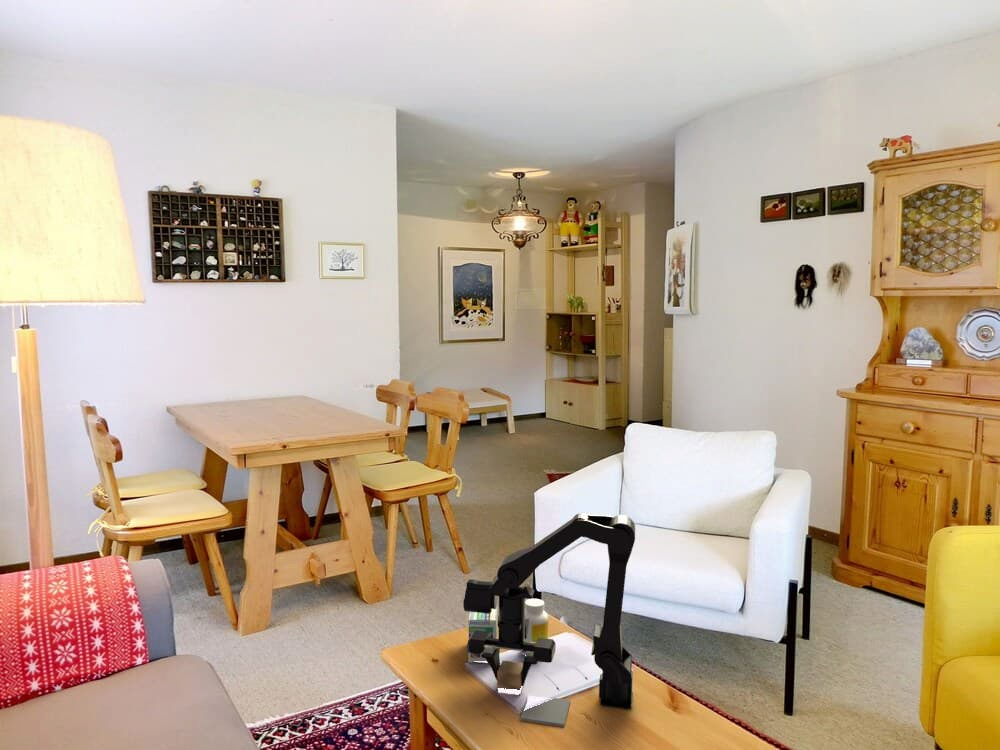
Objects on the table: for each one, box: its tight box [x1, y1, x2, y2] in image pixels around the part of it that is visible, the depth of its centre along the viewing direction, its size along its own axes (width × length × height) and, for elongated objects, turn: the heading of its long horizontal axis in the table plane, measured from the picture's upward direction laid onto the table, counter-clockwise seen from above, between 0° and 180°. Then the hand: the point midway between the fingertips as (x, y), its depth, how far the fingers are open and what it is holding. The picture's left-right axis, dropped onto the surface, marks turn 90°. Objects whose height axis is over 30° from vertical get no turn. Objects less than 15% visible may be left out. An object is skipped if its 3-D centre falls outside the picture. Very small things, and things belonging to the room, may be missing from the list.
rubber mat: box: [519, 697, 571, 728], centre depth 148 cm, size 9×9×1 cm
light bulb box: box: [468, 606, 498, 663], centre depth 173 cm, size 11×7×11 cm, turn 179°
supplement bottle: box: [520, 598, 549, 655], centre depth 173 cm, size 7×7×13 cm
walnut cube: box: [496, 660, 523, 690], centre depth 157 cm, size 5×5×5 cm
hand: (510, 683), depth 157 cm, fingers open, 5 cm apart
